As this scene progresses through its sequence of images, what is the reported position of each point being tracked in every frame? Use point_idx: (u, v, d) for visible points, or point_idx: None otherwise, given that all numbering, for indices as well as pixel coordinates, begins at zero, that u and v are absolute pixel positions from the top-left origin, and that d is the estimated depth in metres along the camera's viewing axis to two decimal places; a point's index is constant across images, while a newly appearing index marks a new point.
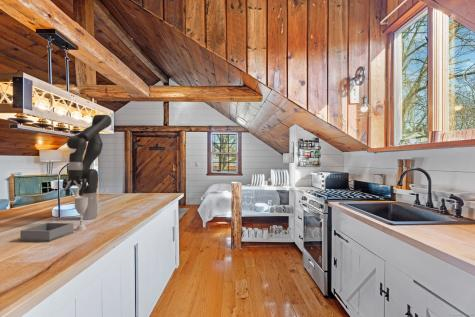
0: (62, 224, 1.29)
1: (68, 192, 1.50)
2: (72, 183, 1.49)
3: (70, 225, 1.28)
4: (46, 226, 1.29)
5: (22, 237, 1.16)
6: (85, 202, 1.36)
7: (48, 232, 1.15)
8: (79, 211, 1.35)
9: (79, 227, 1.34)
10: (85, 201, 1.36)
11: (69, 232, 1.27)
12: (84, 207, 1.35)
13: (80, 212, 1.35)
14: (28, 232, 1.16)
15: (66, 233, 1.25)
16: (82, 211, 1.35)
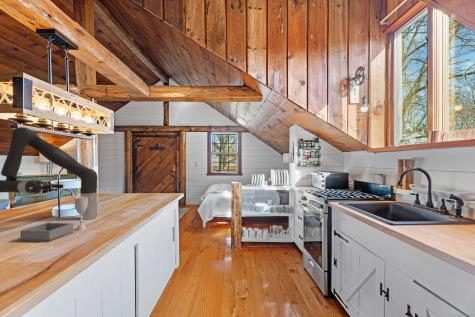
0: (62, 224, 1.29)
1: (59, 186, 1.42)
2: None
3: (70, 225, 1.28)
4: (46, 226, 1.29)
5: (22, 237, 1.16)
6: (85, 202, 1.36)
7: (48, 232, 1.15)
8: (79, 211, 1.35)
9: (79, 227, 1.34)
10: (85, 201, 1.36)
11: (69, 232, 1.27)
12: (84, 207, 1.35)
13: (80, 212, 1.35)
14: (28, 232, 1.16)
15: (66, 233, 1.25)
16: (82, 211, 1.35)
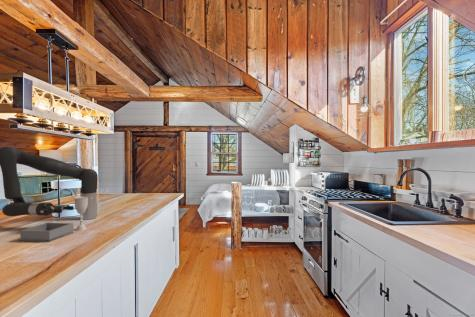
0: (62, 224, 1.29)
1: (69, 207, 1.41)
2: None
3: (70, 225, 1.28)
4: (46, 226, 1.29)
5: (22, 237, 1.16)
6: (85, 202, 1.36)
7: (48, 232, 1.15)
8: (79, 211, 1.35)
9: (79, 227, 1.34)
10: (85, 201, 1.36)
11: (69, 232, 1.27)
12: (84, 207, 1.35)
13: (80, 212, 1.35)
14: (28, 232, 1.16)
15: (66, 233, 1.25)
16: (82, 211, 1.35)
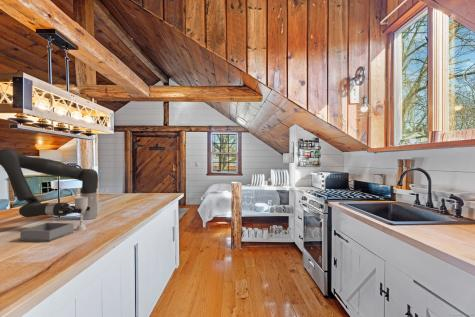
0: (62, 224, 1.29)
1: None
2: None
3: (70, 225, 1.28)
4: (46, 226, 1.29)
5: (22, 237, 1.16)
6: (85, 202, 1.36)
7: (48, 232, 1.15)
8: None
9: (79, 227, 1.34)
10: (85, 201, 1.36)
11: (69, 232, 1.27)
12: (84, 207, 1.35)
13: None
14: (28, 232, 1.16)
15: (66, 233, 1.25)
16: (82, 211, 1.35)
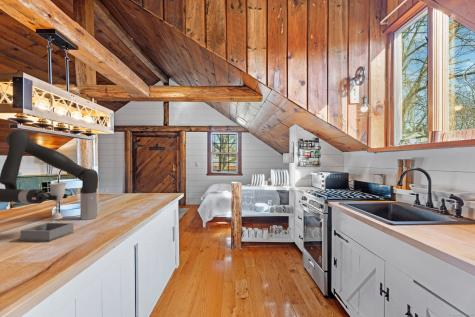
0: (62, 224, 1.29)
1: (63, 196, 1.30)
2: None
3: (70, 225, 1.28)
4: (46, 226, 1.29)
5: (22, 237, 1.16)
6: (61, 189, 1.26)
7: (48, 232, 1.15)
8: None
9: (54, 216, 1.25)
10: (62, 188, 1.26)
11: (69, 232, 1.27)
12: (60, 194, 1.26)
13: None
14: (28, 232, 1.16)
15: (66, 233, 1.25)
16: (58, 199, 1.25)
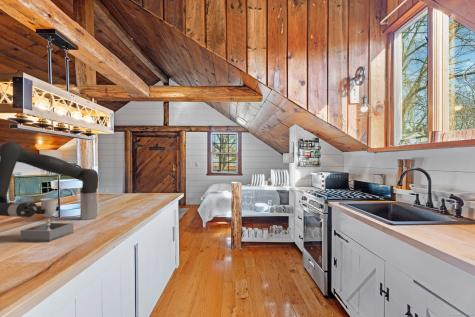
0: (62, 224, 1.29)
1: None
2: None
3: (70, 225, 1.28)
4: (46, 226, 1.29)
5: (22, 237, 1.16)
6: (53, 204, 1.22)
7: (48, 232, 1.15)
8: (46, 214, 1.21)
9: None
10: (53, 203, 1.22)
11: (69, 232, 1.27)
12: (51, 210, 1.22)
13: (47, 215, 1.22)
14: (28, 232, 1.16)
15: (66, 233, 1.25)
16: (49, 215, 1.22)
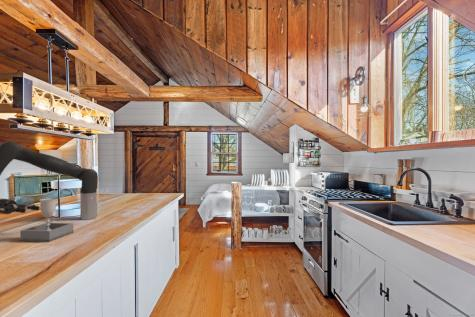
0: (62, 224, 1.29)
1: (34, 208, 1.29)
2: None
3: (70, 225, 1.28)
4: (46, 226, 1.29)
5: (22, 237, 1.16)
6: (52, 204, 1.22)
7: (48, 232, 1.15)
8: (45, 214, 1.21)
9: None
10: (52, 203, 1.22)
11: (69, 232, 1.27)
12: (51, 210, 1.22)
13: (46, 216, 1.22)
14: (28, 232, 1.16)
15: (66, 233, 1.25)
16: (48, 215, 1.22)
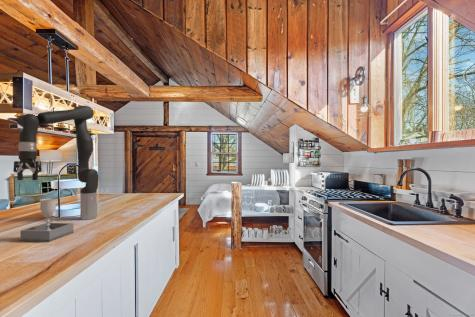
0: (62, 224, 1.29)
1: (21, 176, 1.32)
2: (24, 166, 1.31)
3: (70, 225, 1.28)
4: (46, 226, 1.29)
5: (22, 237, 1.16)
6: (52, 204, 1.22)
7: (48, 232, 1.15)
8: (45, 215, 1.21)
9: None
10: (52, 203, 1.22)
11: (69, 232, 1.27)
12: (51, 210, 1.22)
13: (46, 216, 1.21)
14: (28, 232, 1.16)
15: (66, 233, 1.25)
16: (48, 215, 1.22)
